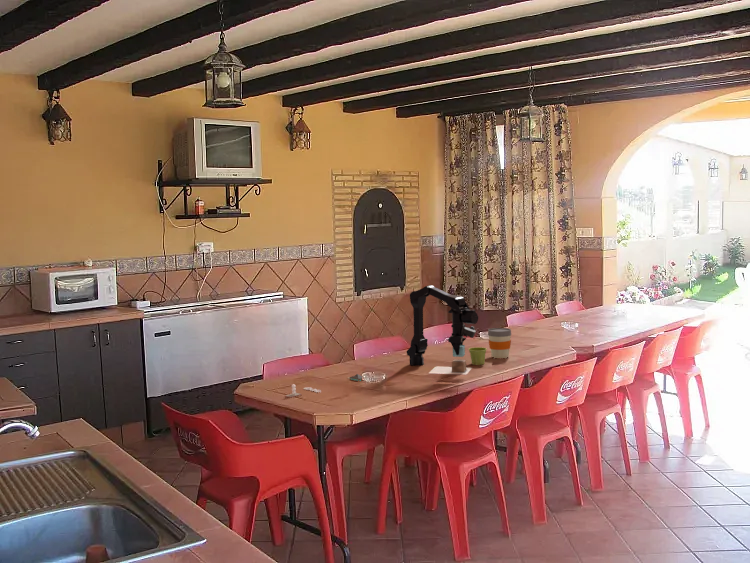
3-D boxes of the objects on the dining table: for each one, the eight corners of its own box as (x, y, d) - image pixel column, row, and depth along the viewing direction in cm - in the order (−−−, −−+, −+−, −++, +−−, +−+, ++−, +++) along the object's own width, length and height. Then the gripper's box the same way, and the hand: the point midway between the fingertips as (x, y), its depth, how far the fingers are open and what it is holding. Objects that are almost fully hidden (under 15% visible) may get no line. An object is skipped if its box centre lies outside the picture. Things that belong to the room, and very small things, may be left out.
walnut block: (451, 372, 375) (451, 361, 374) (454, 369, 381) (454, 359, 380) (464, 372, 373) (463, 362, 373) (466, 369, 379) (466, 359, 378)
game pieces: (293, 400, 337) (292, 387, 337) (276, 395, 347) (275, 382, 346) (369, 382, 367) (368, 370, 367) (351, 378, 377) (351, 366, 376)
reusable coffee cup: (496, 360, 405) (495, 332, 403) (484, 356, 416) (483, 329, 415) (516, 357, 409) (515, 330, 408) (503, 353, 421) (503, 327, 419)
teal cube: (452, 356, 375) (452, 346, 374) (454, 354, 379) (454, 344, 379) (462, 356, 373) (462, 346, 373) (464, 354, 378) (464, 344, 377)
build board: (428, 375, 375) (428, 373, 375) (435, 368, 390) (435, 366, 390) (466, 376, 369) (466, 374, 369) (472, 369, 384) (472, 367, 384)
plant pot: (477, 368, 387) (477, 351, 386) (465, 365, 394) (464, 349, 394) (491, 365, 392) (490, 348, 391) (478, 362, 400) (477, 346, 399)
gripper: (470, 325, 363) (471, 357, 365) (477, 319, 381) (478, 350, 383) (447, 325, 367) (448, 357, 368) (455, 319, 384) (456, 350, 386)
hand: (458, 353), depth 376 cm, fingers closed on teal cube, 5 cm apart
